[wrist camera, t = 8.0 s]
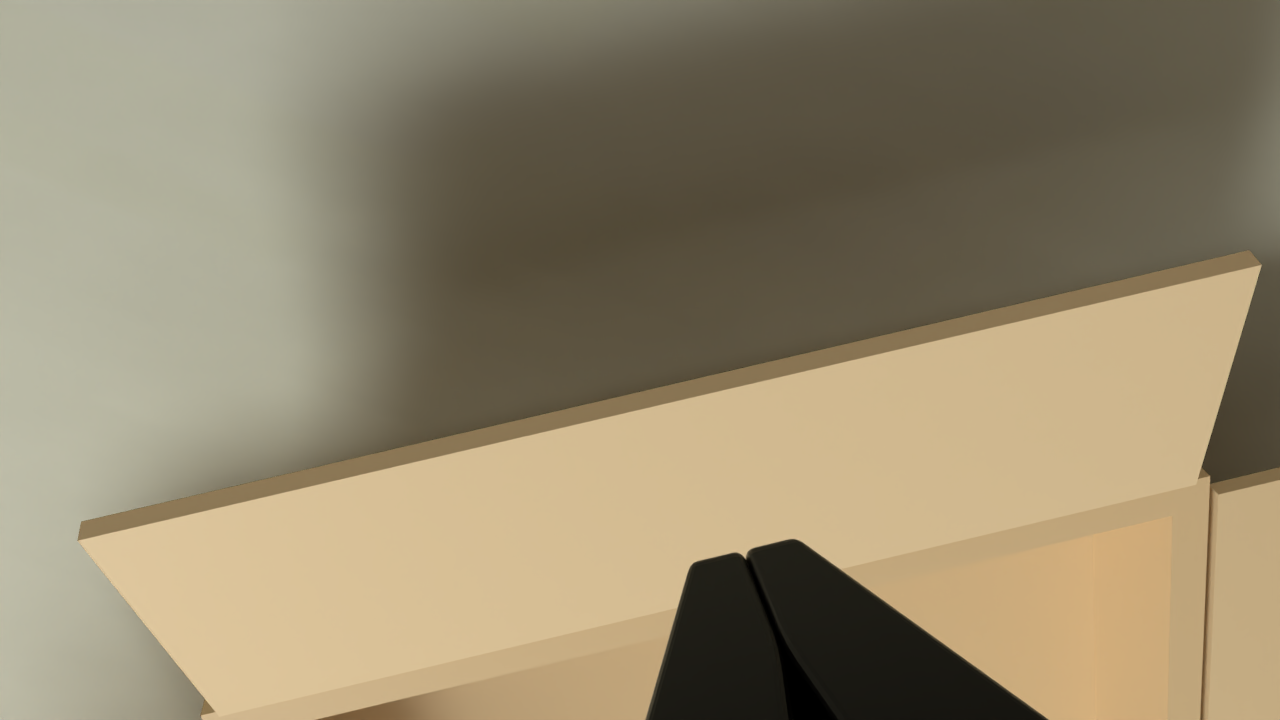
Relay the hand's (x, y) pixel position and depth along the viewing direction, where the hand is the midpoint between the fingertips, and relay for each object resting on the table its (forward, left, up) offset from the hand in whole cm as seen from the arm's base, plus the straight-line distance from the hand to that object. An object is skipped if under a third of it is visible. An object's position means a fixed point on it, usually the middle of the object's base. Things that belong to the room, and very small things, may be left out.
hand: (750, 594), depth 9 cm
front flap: (0, +6, -7) cm, 9 cm away
